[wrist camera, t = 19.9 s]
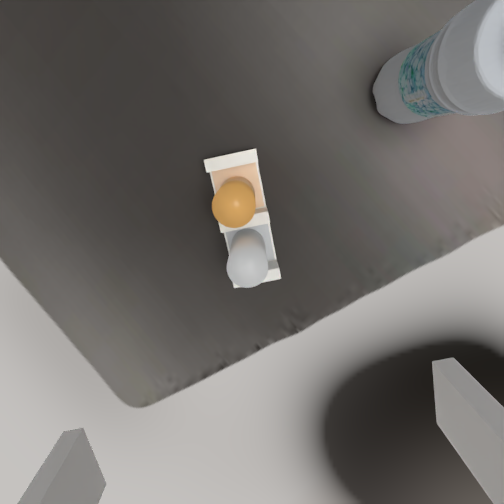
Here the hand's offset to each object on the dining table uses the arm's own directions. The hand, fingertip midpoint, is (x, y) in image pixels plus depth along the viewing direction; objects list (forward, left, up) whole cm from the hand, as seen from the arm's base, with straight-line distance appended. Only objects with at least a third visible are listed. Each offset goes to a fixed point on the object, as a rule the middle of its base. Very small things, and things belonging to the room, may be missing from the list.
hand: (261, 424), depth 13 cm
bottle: (-12, +18, -27) cm, 34 cm away
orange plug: (-6, 0, -26) cm, 27 cm away
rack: (-3, 0, -27) cm, 27 cm away
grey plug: (0, 0, -26) cm, 26 cm away
